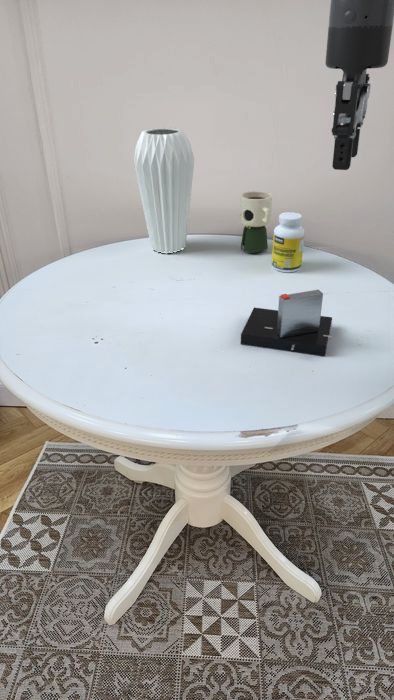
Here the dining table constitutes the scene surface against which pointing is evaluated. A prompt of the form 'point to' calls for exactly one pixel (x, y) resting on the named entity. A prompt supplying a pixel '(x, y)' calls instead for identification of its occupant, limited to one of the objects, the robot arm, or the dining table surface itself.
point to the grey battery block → (299, 313)
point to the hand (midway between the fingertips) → (345, 162)
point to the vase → (165, 185)
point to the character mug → (255, 220)
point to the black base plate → (264, 334)
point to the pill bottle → (288, 243)
